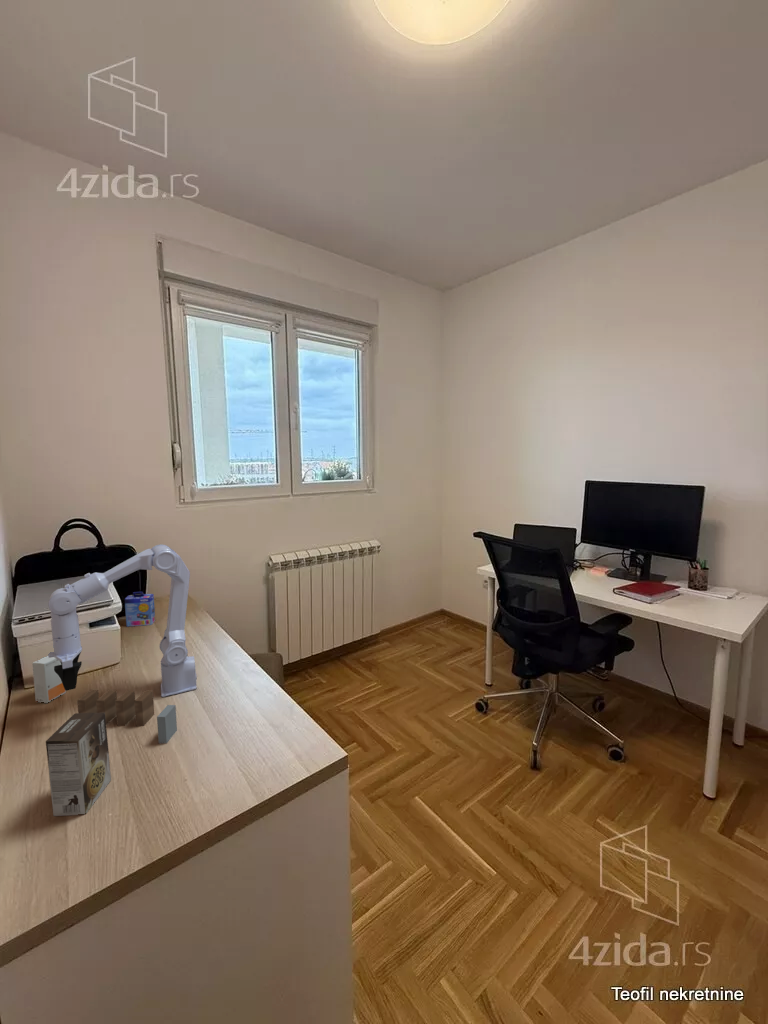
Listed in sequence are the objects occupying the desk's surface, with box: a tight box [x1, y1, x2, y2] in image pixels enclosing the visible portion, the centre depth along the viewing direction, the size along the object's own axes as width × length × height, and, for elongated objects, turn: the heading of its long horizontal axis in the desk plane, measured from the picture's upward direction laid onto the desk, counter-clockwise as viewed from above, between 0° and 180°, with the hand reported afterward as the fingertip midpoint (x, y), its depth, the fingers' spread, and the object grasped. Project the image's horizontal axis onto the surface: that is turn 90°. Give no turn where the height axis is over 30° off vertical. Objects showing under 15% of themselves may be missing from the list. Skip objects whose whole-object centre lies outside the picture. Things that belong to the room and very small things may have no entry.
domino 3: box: [115, 689, 136, 727], centre depth 111 cm, size 2×5×7 cm, turn 179°
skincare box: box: [31, 656, 67, 704], centre depth 121 cm, size 6×4×12 cm
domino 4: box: [134, 689, 155, 727], centre depth 111 cm, size 2×5×7 cm, turn 179°
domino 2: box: [96, 689, 118, 726], centre depth 111 cm, size 2×5×7 cm, turn 0°
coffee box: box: [45, 712, 112, 817], centre depth 85 cm, size 9×6×16 cm
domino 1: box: [76, 689, 100, 713], centre depth 111 cm, size 2×5×7 cm, turn 179°
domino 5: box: [156, 704, 178, 744], centre depth 104 cm, size 2×5×7 cm, turn 179°
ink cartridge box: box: [124, 591, 156, 627], centre depth 176 cm, size 10×6×14 cm, turn 104°
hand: (70, 682), depth 111 cm, fingers open, 7 cm apart
